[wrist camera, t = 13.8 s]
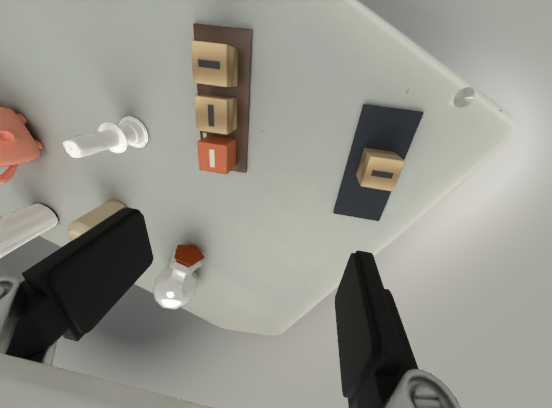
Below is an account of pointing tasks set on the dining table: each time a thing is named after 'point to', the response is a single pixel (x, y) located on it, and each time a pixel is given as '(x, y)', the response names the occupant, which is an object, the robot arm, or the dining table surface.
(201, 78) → the tan wooden block
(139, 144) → the candle
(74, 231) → the candle
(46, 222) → the cup
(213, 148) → the orange striped cube
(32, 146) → the teapot
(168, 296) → the potion bottle
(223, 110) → the far letter i
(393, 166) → the tan block
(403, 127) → the near mat
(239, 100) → the far board
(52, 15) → the dining table surface
